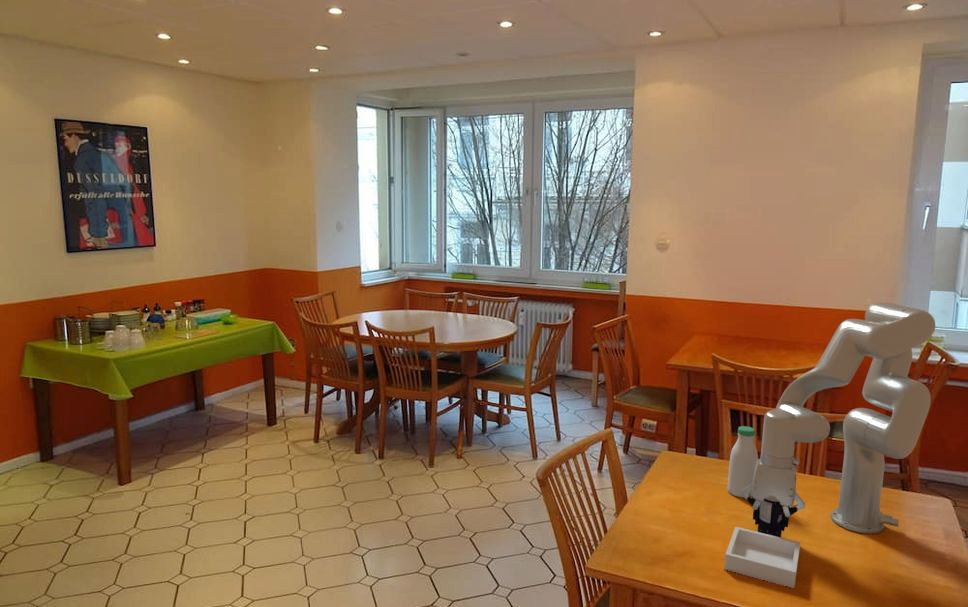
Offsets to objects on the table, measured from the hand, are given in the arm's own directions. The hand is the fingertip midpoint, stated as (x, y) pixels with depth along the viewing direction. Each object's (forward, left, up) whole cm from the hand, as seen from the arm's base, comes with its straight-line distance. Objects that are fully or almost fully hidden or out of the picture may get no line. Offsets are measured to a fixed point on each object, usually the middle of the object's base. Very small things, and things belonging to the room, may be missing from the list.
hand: (770, 525), depth 172 cm
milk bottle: (+10, -23, -3) cm, 25 cm away
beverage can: (0, 0, -3) cm, 3 cm away
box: (0, +15, -3) cm, 15 cm away
